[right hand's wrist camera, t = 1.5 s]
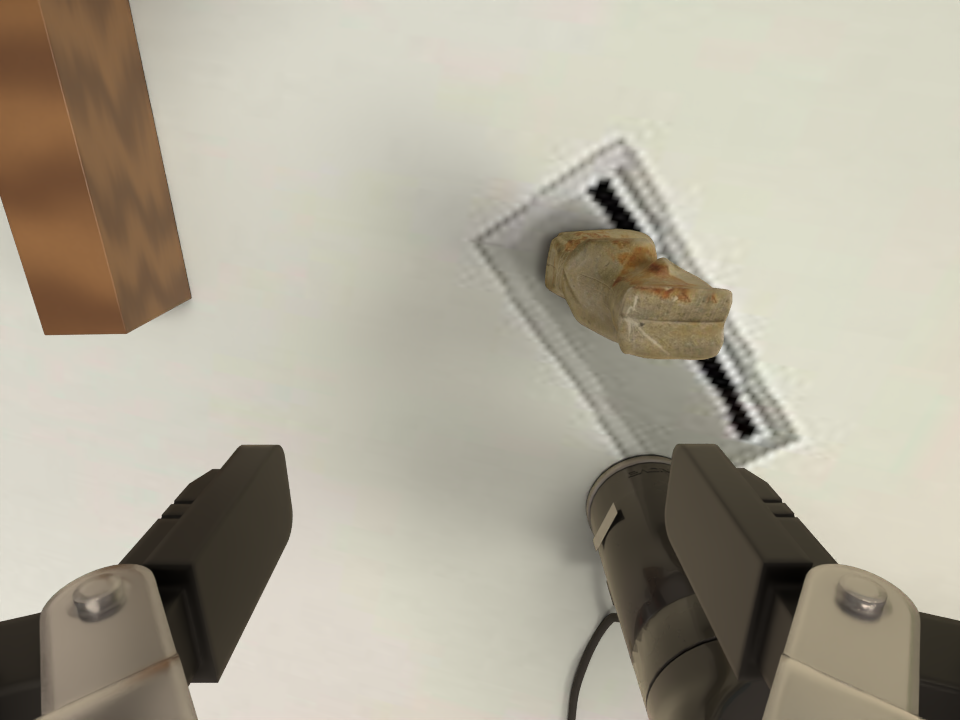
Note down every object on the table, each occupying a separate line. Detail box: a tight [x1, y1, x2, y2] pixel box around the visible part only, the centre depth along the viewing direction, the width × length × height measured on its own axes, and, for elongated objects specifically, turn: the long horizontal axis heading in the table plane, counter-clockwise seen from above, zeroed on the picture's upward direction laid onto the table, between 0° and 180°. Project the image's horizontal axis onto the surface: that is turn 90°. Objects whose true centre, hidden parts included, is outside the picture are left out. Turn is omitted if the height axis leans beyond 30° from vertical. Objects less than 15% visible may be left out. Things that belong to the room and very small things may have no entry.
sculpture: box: [545, 229, 732, 360], centre depth 31 cm, size 6×7×15 cm
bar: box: [0, 0, 191, 335], centre depth 31 cm, size 25×5×8 cm, turn 1°
